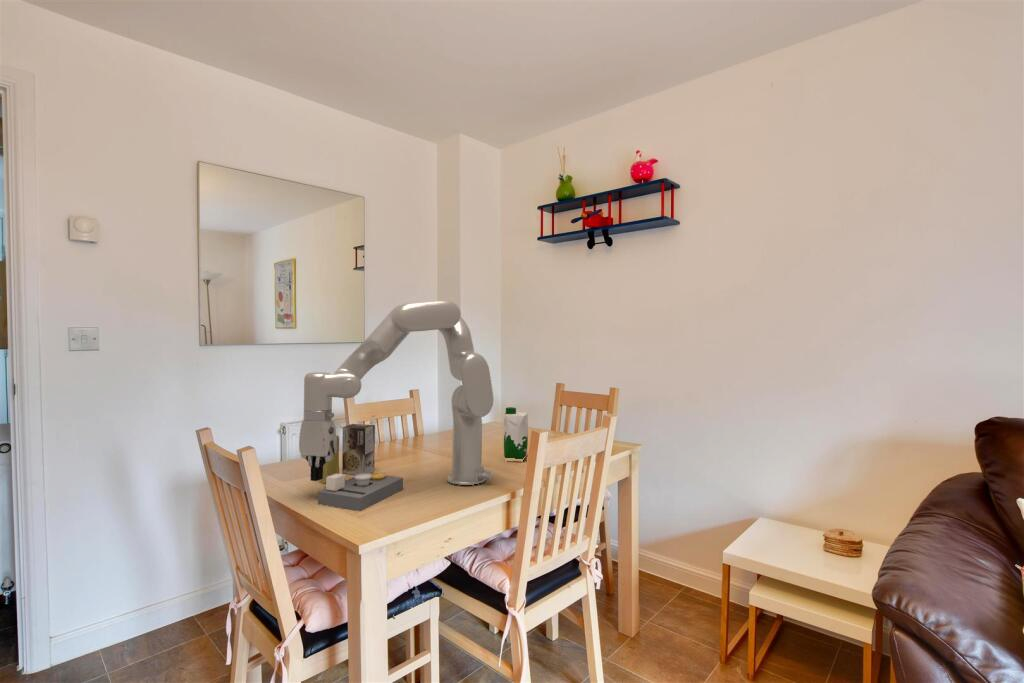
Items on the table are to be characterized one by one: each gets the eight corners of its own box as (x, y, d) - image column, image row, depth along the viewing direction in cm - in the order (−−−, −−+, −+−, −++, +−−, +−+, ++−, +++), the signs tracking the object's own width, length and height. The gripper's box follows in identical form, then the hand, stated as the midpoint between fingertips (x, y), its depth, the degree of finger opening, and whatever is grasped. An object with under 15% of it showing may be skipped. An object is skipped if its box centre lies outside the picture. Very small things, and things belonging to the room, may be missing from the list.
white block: (344, 495, 141) (344, 474, 141) (334, 499, 137) (335, 478, 137) (335, 494, 142) (336, 473, 142) (326, 498, 138) (326, 477, 138)
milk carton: (506, 456, 197) (507, 406, 197) (528, 458, 195) (529, 407, 195) (501, 461, 188) (502, 409, 188) (525, 463, 187) (526, 410, 187)
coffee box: (375, 471, 172) (376, 424, 172) (364, 476, 166) (365, 428, 166) (352, 469, 174) (352, 423, 174) (341, 473, 168) (341, 426, 168)
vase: (342, 478, 163) (342, 434, 162) (336, 483, 156) (336, 438, 156) (323, 478, 162) (324, 434, 162) (316, 483, 156) (317, 438, 156)
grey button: (374, 484, 146) (374, 474, 146) (364, 489, 142) (364, 478, 142) (361, 482, 148) (361, 472, 148) (350, 487, 143) (350, 476, 143)
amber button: (388, 483, 153) (388, 473, 153) (379, 488, 148) (379, 477, 148) (375, 481, 155) (375, 471, 155) (365, 486, 150) (365, 475, 150)
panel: (403, 489, 152) (403, 477, 152) (360, 511, 133) (360, 498, 133) (364, 483, 157) (364, 472, 157) (317, 504, 137) (318, 491, 137)
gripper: (348, 415, 143) (346, 479, 143) (306, 412, 148) (305, 473, 148) (330, 419, 136) (328, 486, 136) (287, 415, 141) (286, 480, 141)
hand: (316, 479), depth 142 cm, fingers closed
